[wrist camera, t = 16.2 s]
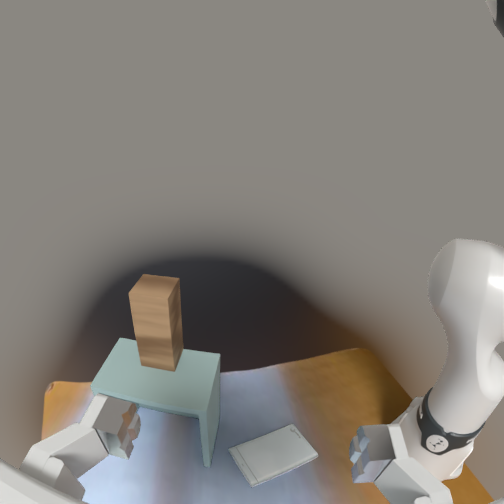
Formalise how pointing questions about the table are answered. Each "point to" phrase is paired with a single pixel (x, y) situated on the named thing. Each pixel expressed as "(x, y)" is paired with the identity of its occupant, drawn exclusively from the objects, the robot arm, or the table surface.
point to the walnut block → (157, 321)
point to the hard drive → (272, 455)
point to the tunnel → (166, 387)
